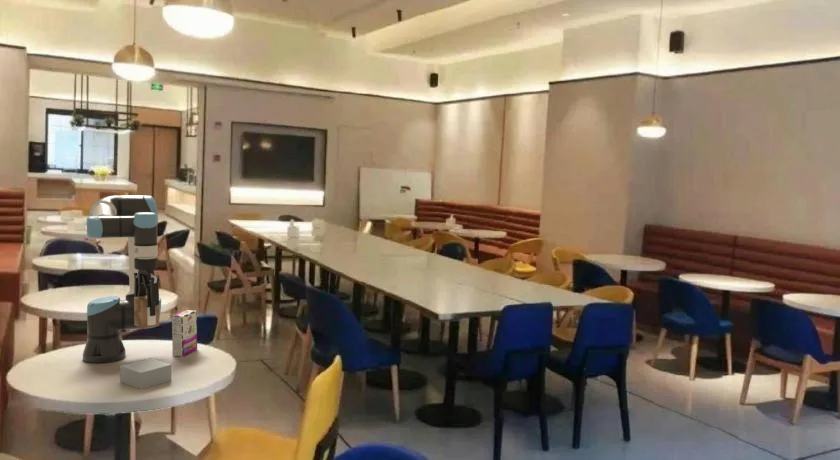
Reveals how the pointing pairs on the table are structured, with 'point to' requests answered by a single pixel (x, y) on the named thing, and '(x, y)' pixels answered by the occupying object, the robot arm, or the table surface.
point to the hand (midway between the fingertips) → (146, 322)
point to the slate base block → (145, 373)
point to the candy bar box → (184, 333)
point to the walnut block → (143, 312)
